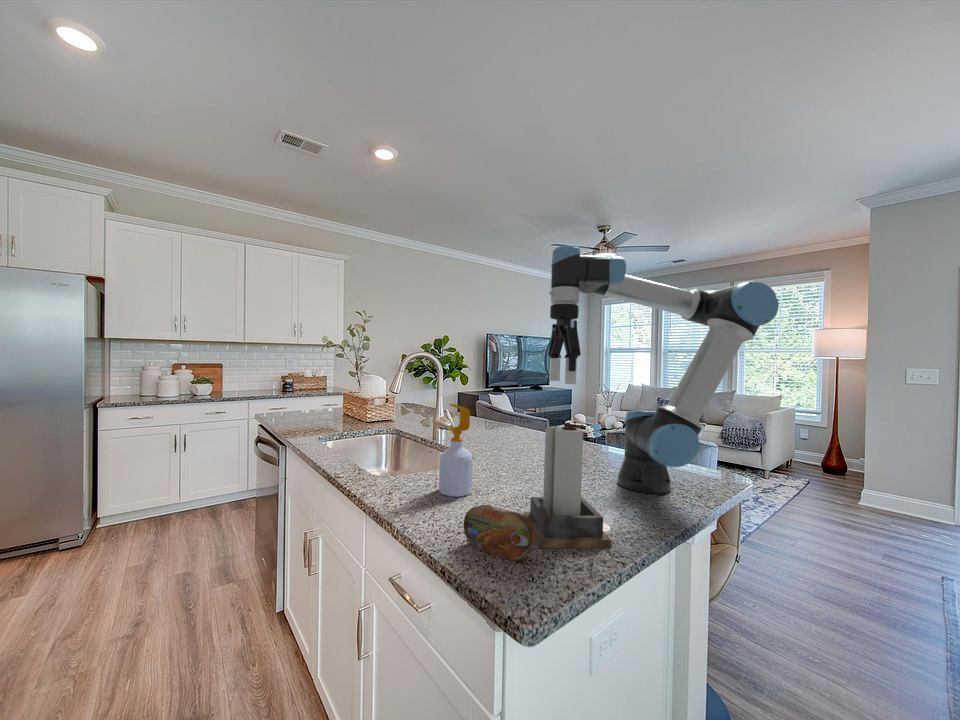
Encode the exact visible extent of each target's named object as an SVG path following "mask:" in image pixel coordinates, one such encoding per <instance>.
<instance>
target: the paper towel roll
mask: <svg viewBox="0 0 960 720" xmlns="http://www.w3.org/2000/svg"><path fill="white" fill-rule="evenodd" d="M544 432H545V435H544V465H543V467H544V470H543V492H542V493H543V496H542V497H543V508H544V510H545V511H546V512H547V514H548V515H549V516H580V510H581V497H582V480H583V479H582V474H583V472H582V471H583V448H584V447H583V445H584V443H583V442H584V441H583V440H584V429H582V428H580V427H573V426H553V427H545V431H544Z"/></svg>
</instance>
